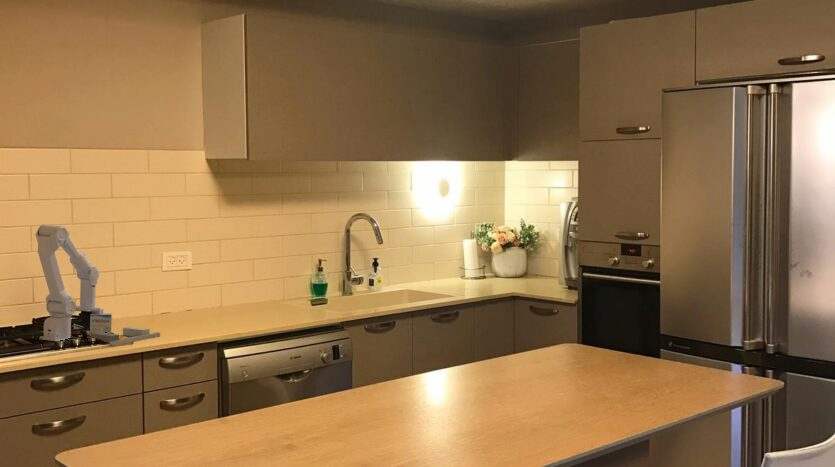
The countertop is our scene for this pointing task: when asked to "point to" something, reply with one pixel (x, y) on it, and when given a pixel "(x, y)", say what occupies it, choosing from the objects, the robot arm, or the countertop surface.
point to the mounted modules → (111, 337)
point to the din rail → (134, 339)
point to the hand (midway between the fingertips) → (87, 330)
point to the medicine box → (100, 322)
